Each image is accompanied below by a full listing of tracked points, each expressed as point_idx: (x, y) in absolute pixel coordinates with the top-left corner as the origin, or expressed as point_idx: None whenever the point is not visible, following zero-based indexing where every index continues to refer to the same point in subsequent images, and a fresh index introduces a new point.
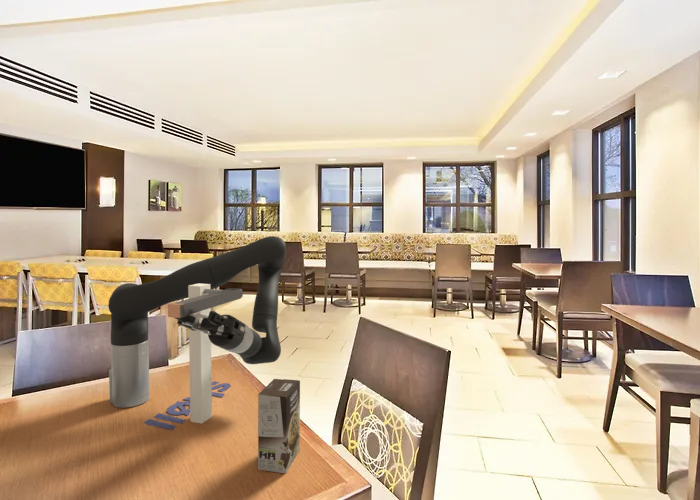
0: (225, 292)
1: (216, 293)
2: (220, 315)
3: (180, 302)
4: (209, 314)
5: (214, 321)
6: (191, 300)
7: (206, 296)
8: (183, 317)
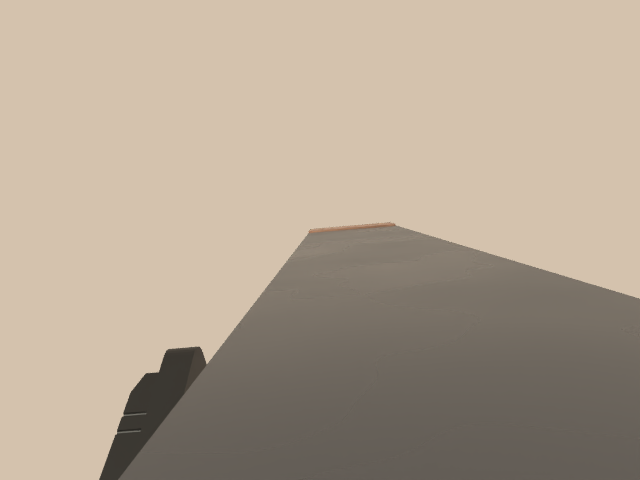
0: (208, 472)
1: (435, 314)
2: None
3: (367, 229)
4: (201, 364)
5: None
6: (350, 237)
7: (364, 258)
8: None
